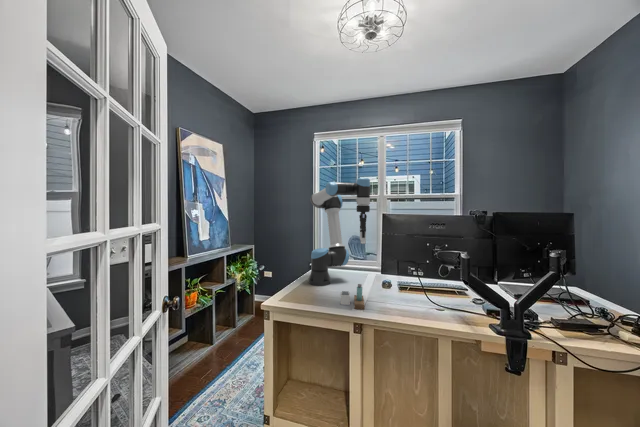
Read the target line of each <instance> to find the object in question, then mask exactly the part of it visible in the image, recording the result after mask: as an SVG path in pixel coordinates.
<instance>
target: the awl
mask: <svg viewBox="0 0 640 427" xmlns="http://www.w3.org/2000/svg"><path fill="white" fill-rule="evenodd" d="M356 295H357V301H362V295H363V286H362V283H358V284H357V287H356Z"/></svg>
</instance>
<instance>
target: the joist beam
mask: <svg viewBox="0 0 640 427" xmlns="http://www.w3.org/2000/svg"><path fill="white" fill-rule="evenodd" d="M353 299H354V300H353V301H354V303H353V304H354V310H365V301H364V295H363V294H362V301H357V294H354V297H353Z"/></svg>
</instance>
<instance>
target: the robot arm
mask: <svg viewBox="0 0 640 427" xmlns="http://www.w3.org/2000/svg"><path fill="white" fill-rule="evenodd" d="M342 196H356V199H355V202H356V212H357V213H359V214H360V215H358V216H359V222H360V224H359V241H360V244H363V245H365V244H367V243H366V242H367V239H366V238H367V217H368V216H367V213H370V211H371V209H370V208H371V207H370V204H371V180H370V178H368V177H359V178H357V179H356V182H337V181H329V182H327V183H326V185H325V187H324V188H323V189H321V190H319V191H316V192H314V193H312V194H311V196H310V199H309V200H310V203H311V204H312V206H314V207H315V208H317V209H324V212H325V213H326V215H327V216H326V217H327V225H328V226H327V227H328V233H329V234H328V235H329V243H330V245H329V246H328V248H327V247H320V248H315V249H313V250H312V251H311V255H310V259H311V260H310V265H311V266H310V268H311V269H310V274H309V277H308V284H309V285H312V286H317V287H319V286H321V287H322V286H327V285H330V284H331V277H330V274H329V268H331V267H332V268H333V267H342V266H343V267H344V266H346V265H347V264H348V263H349V259H350V253H349V250H348V249H347V248H346V246H345V245H344V243H343V237H342V230H341V229H342V228H341V222H340V213H339V212H340V211H341V209H342V207H343V198H342Z"/></svg>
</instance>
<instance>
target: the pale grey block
mask: <svg viewBox="0 0 640 427" xmlns="http://www.w3.org/2000/svg"><path fill="white" fill-rule="evenodd" d="M350 303H351V293H350V292H349V291H346V290H345V291H344V290H342V291H341V292H340V305H343V306H344V305H345V306H347V305H348V306H349V305H351V304H350Z"/></svg>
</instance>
